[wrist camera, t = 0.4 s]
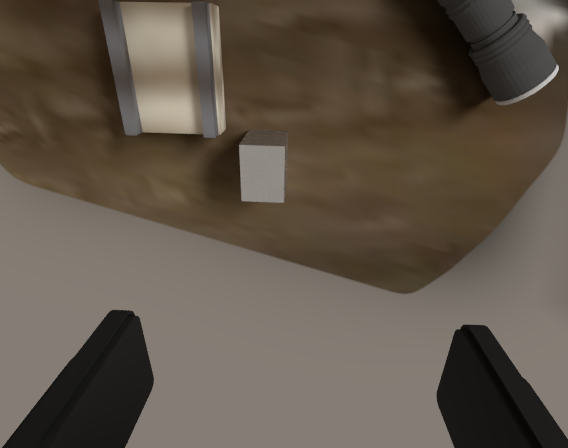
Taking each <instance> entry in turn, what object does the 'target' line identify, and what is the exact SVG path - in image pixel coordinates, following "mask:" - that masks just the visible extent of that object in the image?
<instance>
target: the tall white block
mask: <svg viewBox="0 0 568 448" xmlns="http://www.w3.org/2000/svg"><path fill="white" fill-rule="evenodd" d="M239 155H240V177H241V199H242V201H254V202H279V203H284V198H285V191H286V184H287V165H288V131H286V130H254V129H250V130H249V131H248V132H247V134H246V135H245V137H244V138H243V140H242V141H241V143H240V144H239Z"/></svg>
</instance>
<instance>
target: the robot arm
mask: <svg viewBox="0 0 568 448" xmlns="http://www.w3.org/2000/svg"><path fill="white" fill-rule="evenodd" d="M153 382H154V377H153V373H152V368H151V364H150V360H149V356H148V352H147V348H146V343H145V339H144V335H143V330H142V327H141V322H140V318H139V317H138V316H135V314H134V312H133V311H126V310H125V311H124V310H112V311H110V312H109V313H108V314H107V315H106V317H105V318H104V320H103V321H102V322H101V323H100V325H99V326H98V327H97V328H96V330H95V331H94V332H93V334H92V335H91V336H90V338H89V339H88V340H87V341H86V343H85V344H84V345H83V346H82V348H81V349H80V350H79V352H78V353H77V354H76V355H75V357H73V358H72V359H71V360H70V361H69V363H68V364H67V366H65V368H64V369H63V370H62V372H61V373H60V374H59V375H58V377H57V378H56V379H55V381H54V382H53V383H52V385H51V386H50V387H49V388H48V390H47V391H46V392H45V393H44V395H43V396H42V397H41V399H40V400H39V401H38V402H37V404H36V405H35V406H34V408H33V409H32V410H31V411H30V413H29V414H28V415H27V416H26V418H25V419H24V420H23V422H22V423H21V424H20V425H19V427H18V428H17V429H16V431H15V432H14V433H13V434H12V436H11V437H10V438H9V440H8V441H7V442H6V443H5V445H4V446H3V447H2V448H125V446H126V444H127V442H128V440H129V438H130V436H131V433H132V431H133V429H134V427H135V424H136V423H137V420H138V418H139V416H140V414H141V412H142V410H143V408H144V405H145V403H146V401H147V399H148V397H149V395H150V392H151V390H152V387H153ZM437 402H438V406H439V409H440V411H441V413H442V416H443V419H444V422H445V424H446V427H447V429H448V432H449V434H450V437H451V440H452V442H453V445H454V447H455V448H568V439H567V438H566V436H565V435H564V433H563V432H562V430H561V429H560V428H559V426H558V425H557V423H556V422H555V420H554V419H553V417H552V416H551V414H550V413H549V411H548V410H547V409H546V407H545V406H544V404H543V403H542V401H541V400H540V398H539V397H538V396H537V394H536V393H535V391H534V390H533V389H532V387H531V385H530V384H529V383H528V382H527V381H526V380H525V379H524V378H523V377H522V376H521V375H520V373H519V372H518V370H517V369H516V367H515V366H514V365H513V363H512V362H511V360H510V359H509V357H508V356H507V354H506V353H505V351H504V350H503V349H502V347H501V345H500V344H499V343H498V341H497V340H496V338H495V337H494V335H493V334H492V333H491V331H490V330H489V328H488V327H487V326H484V325H463V326H462V327H461V329H460V330H456V331H455V333H454V336H453V340H452V343H451V346H450V350H449V353H448V356H447V360H446V363H445V366H444V370H443V373H442V376H441V380H440V383H439V387H438V390H437Z"/></svg>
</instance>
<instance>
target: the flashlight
mask: <svg viewBox="0 0 568 448" xmlns="http://www.w3.org/2000/svg"><path fill="white" fill-rule="evenodd" d="M437 1H438V3H439V4H440V6H441V7H444V8H445V9H446V11H445V13H446V14H449V19H450V20H453V22H454V23H455V25H456V26H457V28H458V30H459V31H460V33H461V34H462V36H463V37H464V39H465V41H466V42H470V46H471V48H470V50H469V56H470V57H472V61H474V64H475V65H476V66H478V69H479V73H480V76H481V80H482V82H483V83H484V85H485V86H486V88H487V89H488V91H489V92H490V94H491V96H492V97H493V99H494V100H495V102H496V103H497V104H498V105H507V104H511V103H515V102H517V101H520V100H522V99H524V98H526V97H528V96H530V95H532V94H533V93H535V92H537V91H538V90H540V89H541V88H542V87H544V86H545V85H546V84H547V83H549V82H550V81H551V80H552V79H553V78H554V77H555V75H556V74H557V72H558V70H559V67H558V65H557V63H556V62H555V60H554V58H553V56H552V54H551V53H550V51H549V49H548V47H547V45H546V43H545V42H544V40H543V39H542V38H541V37H540V36H538V35H537V34H536V33H535V32H534V31H533V30H532V25H531V24H529V20H528V19H526V18H527V16H526V15H525V14H516V12H515V11H513V9H514V5H513V3H512V1H511V0H437Z"/></svg>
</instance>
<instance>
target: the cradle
mask: <svg viewBox="0 0 568 448" xmlns="http://www.w3.org/2000/svg"><path fill="white" fill-rule="evenodd" d="M98 1H99V6H100V11H101V16H102V21H103V26H104V31H105V36H106V41H107V46H108V51H109V56H110V61H111V66H112V71H113V76H114V81H115V86H116V91H117V96H118V101H119V106H120V111H121V116H122V121H123V126H124V131H125V135H138V134H140V133H142V132H150V133H181V134H204V138H216V137H217V136H218V135H220V134H221V133H222V132H223V131H224V130H225V129H226V120H225V103H224V87H223V71H222V55H221V39H220V23H219V7H218V6H216V5H214V4H212V3H207V2H205V1H191V3H168V2H118V1H114V0H98Z"/></svg>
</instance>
